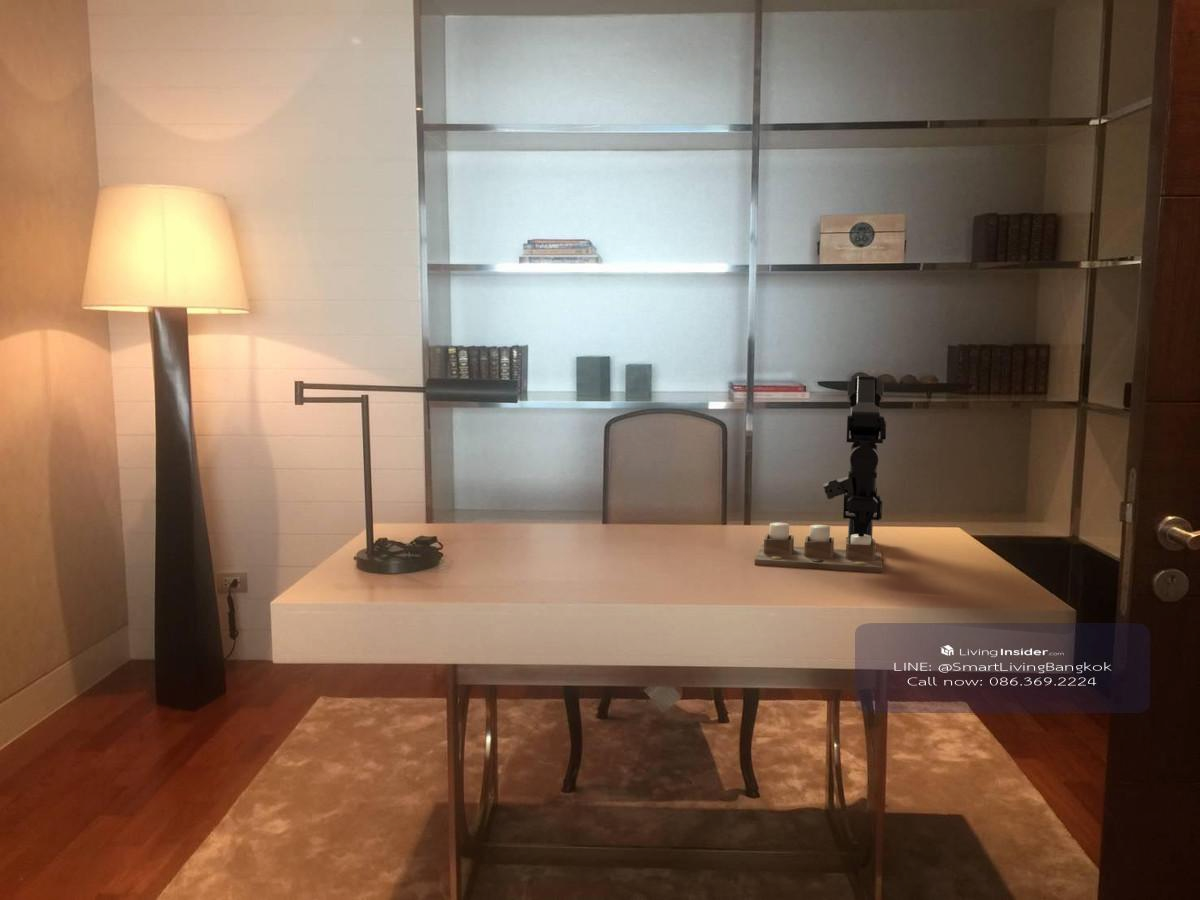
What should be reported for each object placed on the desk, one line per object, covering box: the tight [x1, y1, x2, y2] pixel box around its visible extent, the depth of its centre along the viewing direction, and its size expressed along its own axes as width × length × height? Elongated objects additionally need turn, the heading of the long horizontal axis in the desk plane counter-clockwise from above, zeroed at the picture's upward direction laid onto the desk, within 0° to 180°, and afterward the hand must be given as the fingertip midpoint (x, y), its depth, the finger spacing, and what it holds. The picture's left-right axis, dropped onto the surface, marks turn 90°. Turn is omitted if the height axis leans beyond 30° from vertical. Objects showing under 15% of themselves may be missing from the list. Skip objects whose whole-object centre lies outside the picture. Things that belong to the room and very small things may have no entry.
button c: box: [768, 522, 790, 540], centre depth 215 cm, size 4×4×4 cm
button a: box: [851, 534, 871, 545], centre depth 210 cm, size 4×4×4 cm
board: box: [754, 533, 883, 574], centre depth 212 cm, size 15×27×4 cm, turn 75°
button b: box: [809, 524, 831, 543], centre depth 213 cm, size 4×4×4 cm
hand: (860, 536), depth 210 cm, fingers closed, pressing on button a
